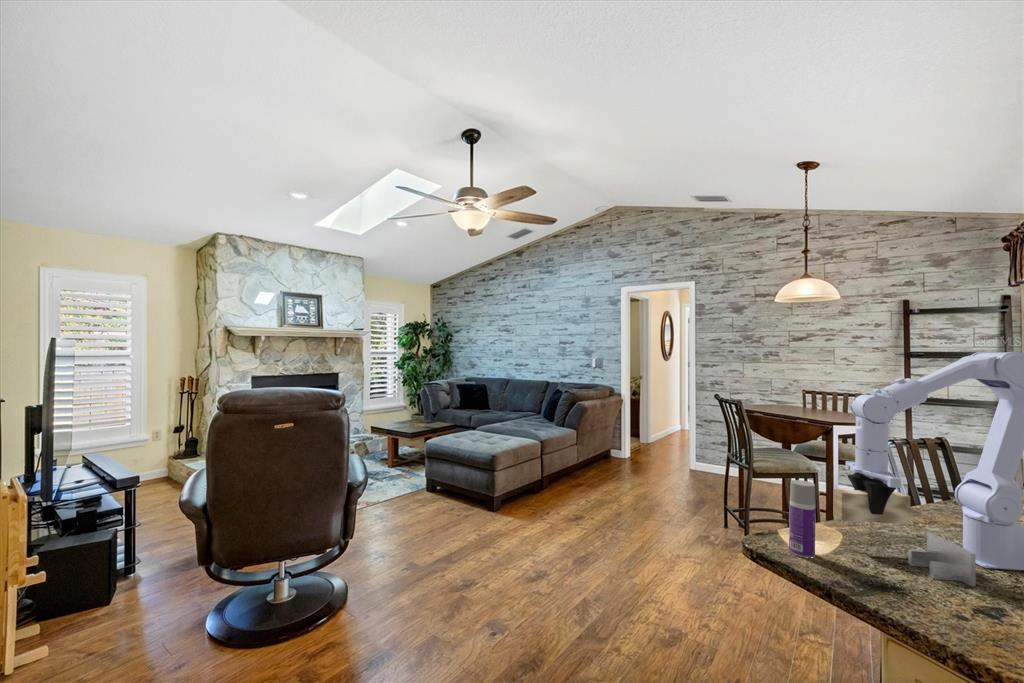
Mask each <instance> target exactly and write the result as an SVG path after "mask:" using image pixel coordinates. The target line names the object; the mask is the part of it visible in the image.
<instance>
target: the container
mask: <svg viewBox="0 0 1024 683" xmlns="http://www.w3.org/2000/svg"><path fill="white" fill-rule="evenodd" d="M789 488H790V489H789V491H790V492H789V510H788V511H789V512H788V513H789V515H788V516H789V521H788V523H789V525H788V527H789V529H788V535H789V536H788V551H789V550H790V551H791V552H792V553H794V554H796V555H798V556H801V557H808V558H811V557H814V556H816V514H817V513H816V511H817V510H816V507H817V506H816V484H815V483H813V482H810V481H806V480H799V479H793V480H790V487H789ZM798 556H797V557H798ZM801 557H800V558H801ZM808 558H807V559H808ZM814 558H815V557H814ZM811 559H812V558H811Z"/></svg>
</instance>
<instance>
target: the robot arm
mask: <svg viewBox="0 0 1024 683" xmlns="http://www.w3.org/2000/svg"><path fill="white" fill-rule="evenodd" d="M969 379H971V380H972V379H973V380H976V381H978V382H980V383H981V384H982V385H984V386H986V387H988V388H989V389H990V390H991V391H992V392H993V393H994V394H995V395H996V396H997V398H999V399H998V403H997V405H996V409H995V412H994V415H993V418H992V422H991V425H990V427H989V430H988V433H987V437H986V440H985V444H984V446H983V448H982V449H983V450H982V452H981V455H980V458H979V462H978V464H977V467H976V468H975V469H972V470H970V471H969V472H966V474H965V475H964V479H963V480H962V481H961V482H960V483H959V484H958V485H957V486H956V487H955V490H954V498H955V500H956V502H957V503H958V504H959V506H961V511H962V516H963V517H962V548H964V549H966V550H968V551H970V552H973V553H975V554H976V565H978V566H980V567H981V568H984V569H985V568H986V569H995V570H999V569H1000V570H1010V571H1011V570H1012V571H1024V525H1023V524H1022V523H1020V522H1019V520H1020V519H1021V518H1022V517H1023V513H1024V506H1023V502H1022V500H1023V499H1022V497H1023V494H1024V491H1023V489H1022V488H1021V486H1020V484H1018V483H1017V481H1016V480H1015V478H1016V474H1017V471H1018V469H1019V466H1020V462H1021V460H1022V456H1023V453H1024V352H1021V351H1009V352H1006V351H1005V352H1003V351H1001V352H994V351H993V352H989V351H978V352H974V353H972V354H971V355H967V356H963V357H961V358H960V359H958V360H956V361H954V362H952V363H950V364H948V365H946V366H944V367H942V368H940V369H937V370H936V371H934V372H932V373H929V374H927V375H925V376H923V377H922V378H921V377H920V378H919V379H913V378H908V377H907V378H901V377H900V378H897V379H895V380H894V383H892V384H890V385H888V386H885V387H883V388H880V389H879V388H875V389H873V390H872V393H871V394H861V395H858V396H856V397H855V398H854V400H853V402H852V404H851V405H850V406H849V410H850V412H851V414H852V415H853V416H854V417H855V433H854V434H855V443H854V444H855V448H854V449H855V450H854V453H855V454H854V455H855V457H854V461H851V460H848V461H847V460H846V461H845V470H848V471H851V472H852V474H847V478H848V480H849V482H850V483H851V485H852V488H853V490H865V491H867V493H868V498H869V508H870V512H871V513H872V514H879V515H883V512H884V509H885V506H886V503H887V501H888V499H889V497H890V495H891V494H892V493H893V492H895V490H897V489H901V487H902V478H900V477H897V476H896V475H895V474H893V473H891V471H889V422H890V421H892V420H893V419H894V417H895V415H896V414H898V413H901V412H903V411H906V410H908V409H911V408H913V407H915V406H918V405H919V404H922V403H925V402H926V401H927V399H928V395H929V394H930V393H933V392H937V391H940V390H942V389H945V388H948V387H950V386H953V385H955V384H958V383H962V382H964V381H968V380H969ZM853 472H854V473H853Z"/></svg>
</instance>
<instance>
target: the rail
mask: <svg viewBox="0 0 1024 683" xmlns="http://www.w3.org/2000/svg"><path fill="white" fill-rule="evenodd" d="M832 492H833V493H832V494H833V496H832V498H833V499H832V500H833V502H832V503H833V506H832V508H833V510H832V511H833V512H832V513H833V514H832V515H833V517H835V518H836V519H838V520H840V521H844V522H860V523H862V522H863V523H877V524H878V523H879V524H897V525H899V524H900V525H911V495H907V494H905V493H903V492H901V491H893V493H892V494H891V495H890V497H889V499H888V501H887V503H886V506H885V509H884V512H883V515H879V514H872V513H871V512H870V508H869V498H868V493H867V491H865V490H854V489H844V488H842V489H841V488H840V489H839V488H833V491H832Z"/></svg>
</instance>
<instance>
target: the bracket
mask: <svg viewBox="0 0 1024 683" xmlns="http://www.w3.org/2000/svg"><path fill="white" fill-rule="evenodd" d="M907 552H908V556H907V559H908V560H907V562H908V564H907V565H909V566H910V567H921V568H922V567H924V568H929V578H931V579H932V580H942V581H944V580H945V581H957V582H958V581H960V582H963V583H965V584H966V585H968V586H970V587H976V569H977V568H976V565H977V564H976V554H975V553H973V552H970V551H968V550H966V549H964V548H963V546H960V545H958V544H956V543H954V542H952V541H950V540H947V539H945V538H943V537H941V536H940V535H937V534H935V533H934V532H926V550H925V549H908V551H907Z"/></svg>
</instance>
